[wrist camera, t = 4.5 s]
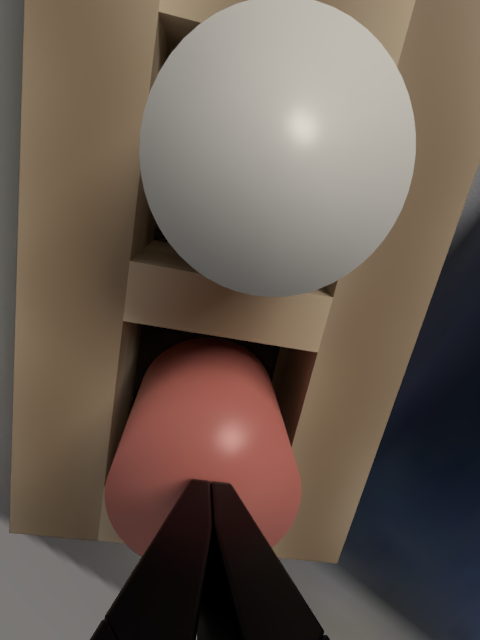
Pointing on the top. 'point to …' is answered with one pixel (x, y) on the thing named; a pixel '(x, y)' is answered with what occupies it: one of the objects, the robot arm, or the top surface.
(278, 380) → the beech block
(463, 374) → the top surface
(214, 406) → the red plug
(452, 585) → the top surface
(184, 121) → the plug
